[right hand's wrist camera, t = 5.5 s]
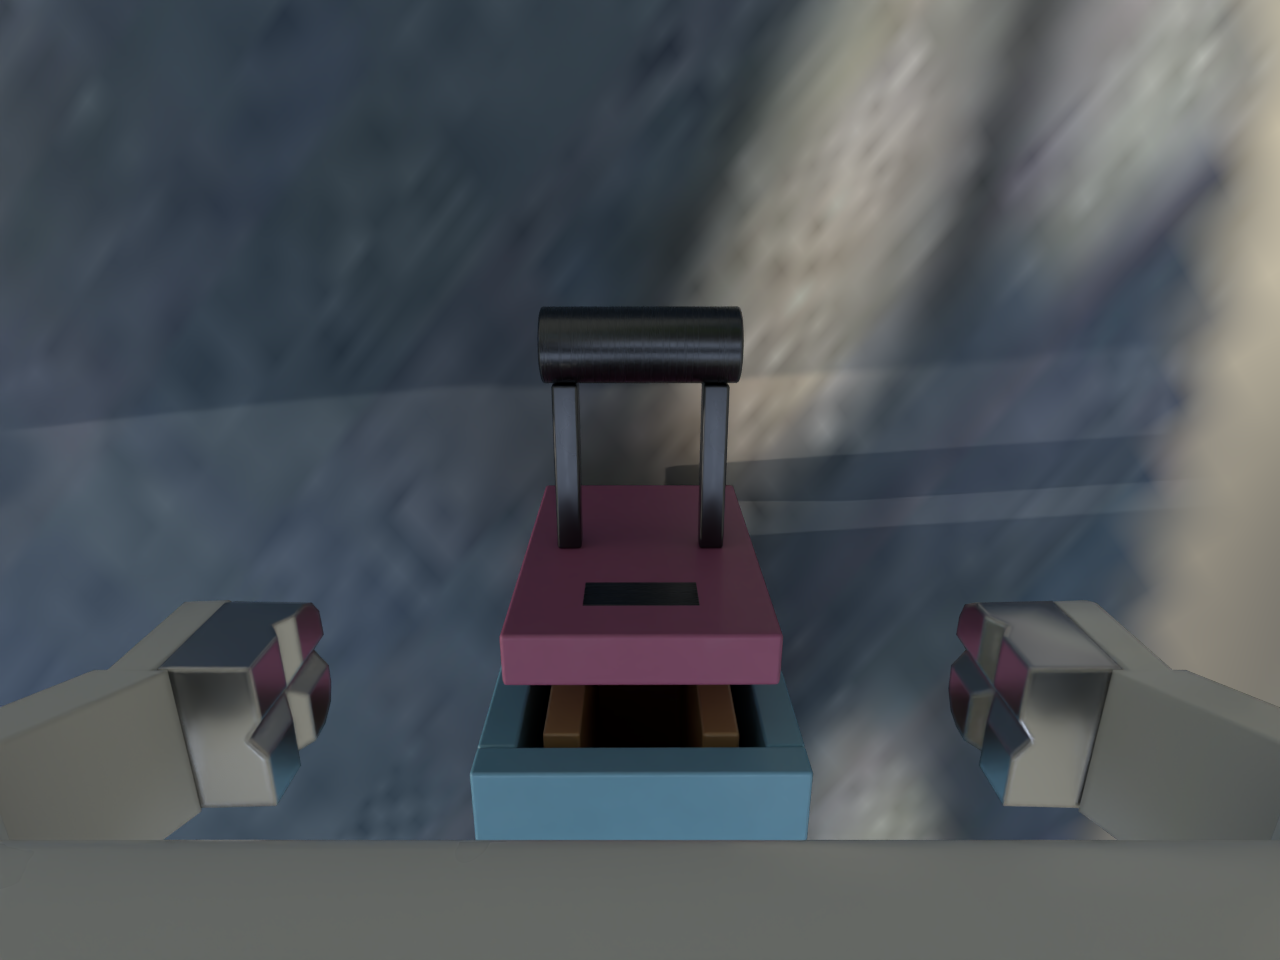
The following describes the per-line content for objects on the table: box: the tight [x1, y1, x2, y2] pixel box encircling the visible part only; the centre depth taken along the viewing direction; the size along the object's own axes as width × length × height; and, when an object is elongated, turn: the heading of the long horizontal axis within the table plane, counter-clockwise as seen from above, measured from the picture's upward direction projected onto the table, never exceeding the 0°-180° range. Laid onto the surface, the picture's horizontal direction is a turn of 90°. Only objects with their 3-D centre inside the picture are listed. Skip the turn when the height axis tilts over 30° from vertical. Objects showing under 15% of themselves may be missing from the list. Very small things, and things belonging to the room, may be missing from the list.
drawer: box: [500, 307, 783, 748], centre depth 21 cm, size 21×6×9 cm, turn 0°
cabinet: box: [470, 665, 813, 840], centre depth 23 cm, size 17×7×10 cm, turn 0°
